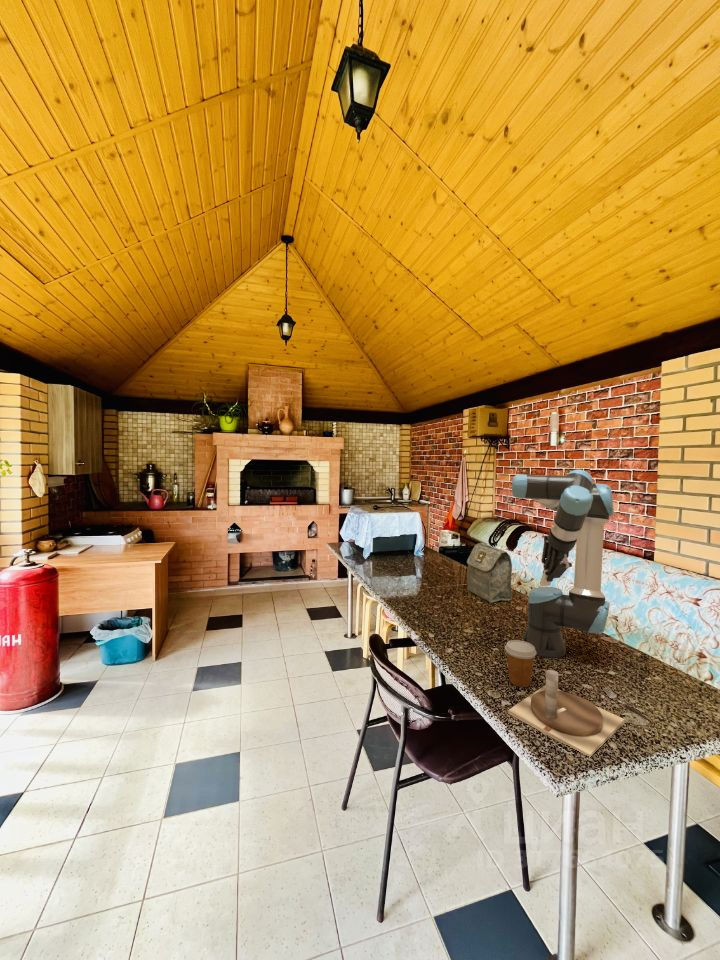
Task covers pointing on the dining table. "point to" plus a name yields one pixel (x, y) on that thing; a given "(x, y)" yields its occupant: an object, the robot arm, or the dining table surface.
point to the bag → (489, 573)
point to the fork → (626, 705)
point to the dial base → (577, 742)
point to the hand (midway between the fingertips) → (544, 584)
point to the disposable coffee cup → (520, 662)
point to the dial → (565, 709)
